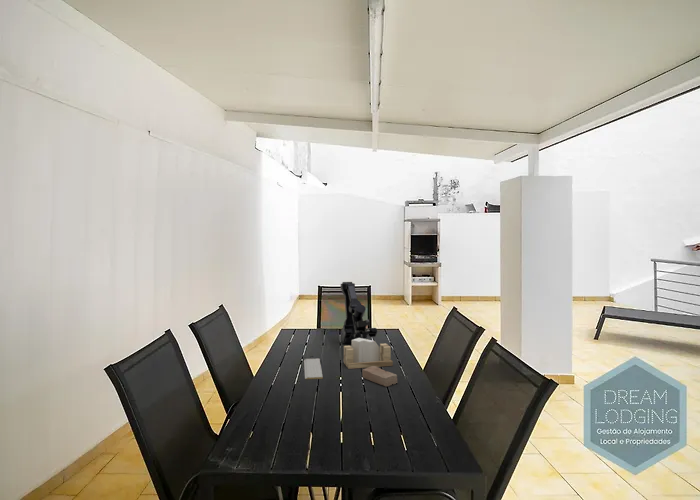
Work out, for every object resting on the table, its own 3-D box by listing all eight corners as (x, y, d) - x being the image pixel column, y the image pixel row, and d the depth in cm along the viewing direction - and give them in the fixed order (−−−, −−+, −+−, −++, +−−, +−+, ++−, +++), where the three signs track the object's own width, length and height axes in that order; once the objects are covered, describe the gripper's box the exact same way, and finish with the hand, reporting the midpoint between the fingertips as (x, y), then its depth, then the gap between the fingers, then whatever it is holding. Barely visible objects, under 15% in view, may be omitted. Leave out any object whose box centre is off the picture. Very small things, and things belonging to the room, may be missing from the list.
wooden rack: (343, 362, 233) (343, 345, 232) (385, 359, 238) (386, 343, 238) (348, 368, 221) (348, 351, 221) (392, 365, 227) (392, 349, 226)
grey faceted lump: (351, 361, 234) (351, 340, 233) (364, 357, 242) (364, 336, 242) (366, 365, 227) (367, 343, 226) (379, 360, 235) (379, 339, 235)
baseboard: (301, 380, 205) (322, 380, 207) (302, 374, 205) (322, 374, 207) (301, 361, 235) (319, 361, 237) (301, 356, 235) (319, 356, 237)
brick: (398, 383, 201) (398, 373, 201) (385, 387, 196) (385, 377, 196) (374, 374, 214) (374, 365, 214) (361, 378, 209) (361, 368, 208)
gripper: (344, 315, 242) (349, 339, 231) (376, 313, 246) (382, 337, 236) (341, 325, 250) (345, 349, 239) (372, 324, 254) (377, 348, 244)
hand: (363, 346), depth 239 cm, fingers closed
